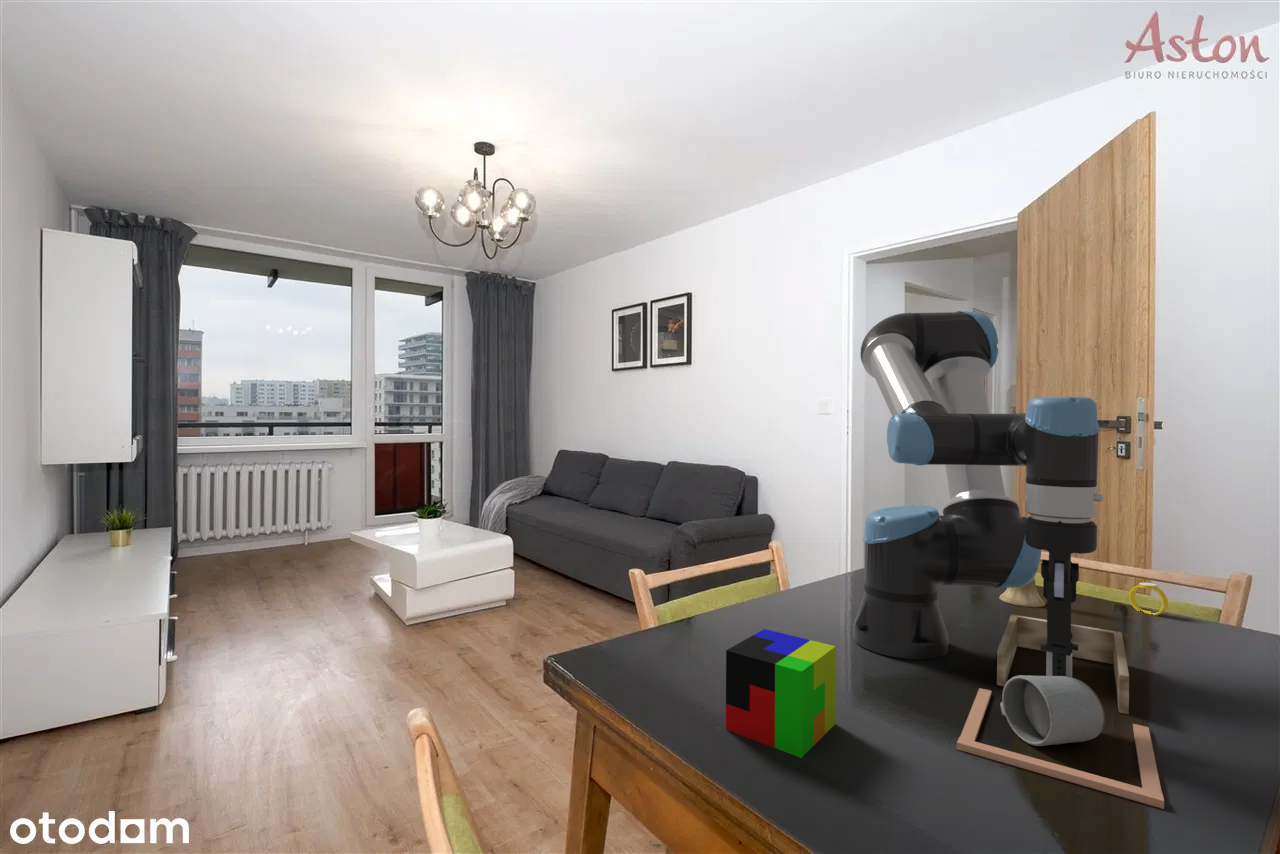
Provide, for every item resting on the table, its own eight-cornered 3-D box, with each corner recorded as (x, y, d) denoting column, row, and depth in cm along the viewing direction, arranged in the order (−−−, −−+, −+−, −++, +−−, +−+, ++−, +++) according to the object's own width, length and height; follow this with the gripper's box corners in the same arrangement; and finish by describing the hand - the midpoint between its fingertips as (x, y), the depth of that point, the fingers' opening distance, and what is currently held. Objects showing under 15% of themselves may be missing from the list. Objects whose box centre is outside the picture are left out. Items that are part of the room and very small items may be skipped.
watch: (1127, 611, 124) (1125, 582, 124) (1135, 609, 125) (1133, 580, 126) (1163, 618, 119) (1161, 587, 119) (1170, 616, 120) (1168, 585, 120)
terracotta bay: (956, 749, 72) (956, 742, 72) (979, 691, 87) (979, 685, 87) (1163, 809, 61) (1164, 801, 61) (1148, 731, 76) (1148, 724, 76)
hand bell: (1044, 599, 131) (1045, 525, 131) (1046, 610, 124) (1047, 531, 124) (999, 593, 135) (1000, 522, 135) (998, 603, 128) (999, 527, 128)
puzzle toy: (764, 701, 84) (764, 628, 84) (835, 724, 78) (835, 646, 77) (725, 730, 76) (726, 650, 76) (801, 758, 70) (801, 671, 70)
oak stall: (996, 684, 89) (997, 650, 89) (1010, 643, 106) (1011, 614, 105) (1128, 714, 80) (1129, 676, 80) (1121, 663, 97) (1121, 632, 97)
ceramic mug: (1111, 752, 71) (1111, 685, 71) (1051, 759, 69) (1051, 691, 69) (1035, 710, 81) (1035, 653, 81) (981, 716, 80) (981, 657, 80)
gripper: (1098, 528, 71) (1096, 731, 71) (1095, 514, 81) (1094, 690, 81) (1022, 521, 75) (1020, 712, 75) (1029, 509, 86) (1027, 677, 86)
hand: (1058, 701), depth 78 cm, fingers closed
